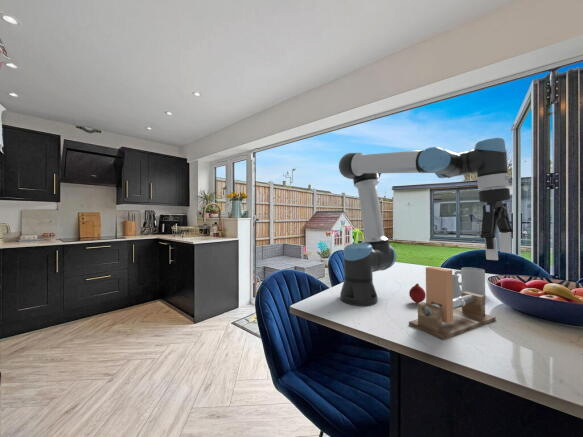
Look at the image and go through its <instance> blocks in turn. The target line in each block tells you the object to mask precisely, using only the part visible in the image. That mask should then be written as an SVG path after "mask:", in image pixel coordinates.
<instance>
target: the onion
mask: <svg viewBox="0 0 583 437" xmlns="http://www.w3.org/2000/svg"><path fill="white" fill-rule="evenodd" d="M408 293H409V294H408V296H409V297H410V299H411V301H413V302H414V303H415V304H418V303H421V302H423V301H425V300H426V290H425V289H424V288H423V287H422V286H420V283H415V285H414V286H412V287H411V288H410V289H409V292H408Z"/></svg>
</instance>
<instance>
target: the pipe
mask: <svg viewBox="0 0 583 437" xmlns="http://www.w3.org/2000/svg"><path fill="white" fill-rule="evenodd" d="M475 302H476V298H475V297H474V296H473V295H465V296H462V297H456V298H454V299H453V309H456V308H460V307H464V306H466V305H470V304H473V303H475ZM431 305H434V306H437V307H440V308H442V305H441V304H438V303H435V304H431ZM425 307H426V308H425ZM424 308H425V310H424ZM424 308H423V310H422V311H423V314H424V315H425V316H427V315H429V313H430V315H429V316H431V310H430V311H429V309H430V308H429V307H427V306H424ZM427 310H428V311H427ZM424 311H426V313H425V312H424ZM426 314H427V315H426ZM429 316H428V317H429Z"/></svg>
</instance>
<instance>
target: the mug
mask: <svg viewBox="0 0 583 437" xmlns="http://www.w3.org/2000/svg"><path fill="white" fill-rule="evenodd" d="M458 274H459V275H461V281H459V280H458V282H459V286H461V292H465V291H466V292H471V293H475V294H479V295H483V296H485V297H486V271H485V269H483V268H478V267H461V270H455V271H454V274H453V275H458Z"/></svg>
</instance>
